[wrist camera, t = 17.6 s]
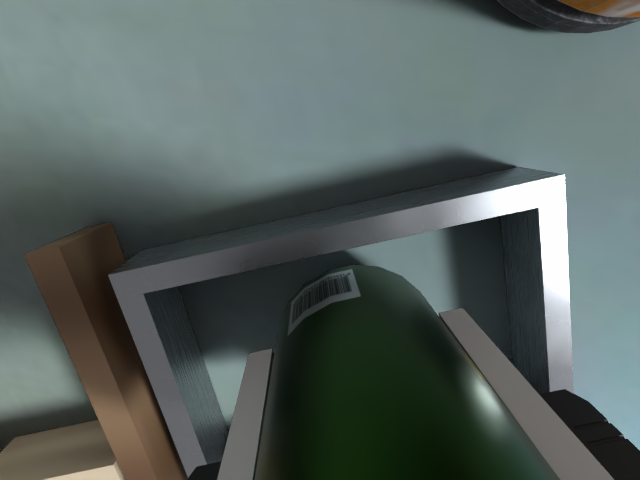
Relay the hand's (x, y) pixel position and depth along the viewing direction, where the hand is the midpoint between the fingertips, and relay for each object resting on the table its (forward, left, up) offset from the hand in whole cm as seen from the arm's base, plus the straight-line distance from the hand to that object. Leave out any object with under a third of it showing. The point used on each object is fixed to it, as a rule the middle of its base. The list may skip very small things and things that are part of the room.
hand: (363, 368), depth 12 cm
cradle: (0, 0, -3) cm, 3 cm away
